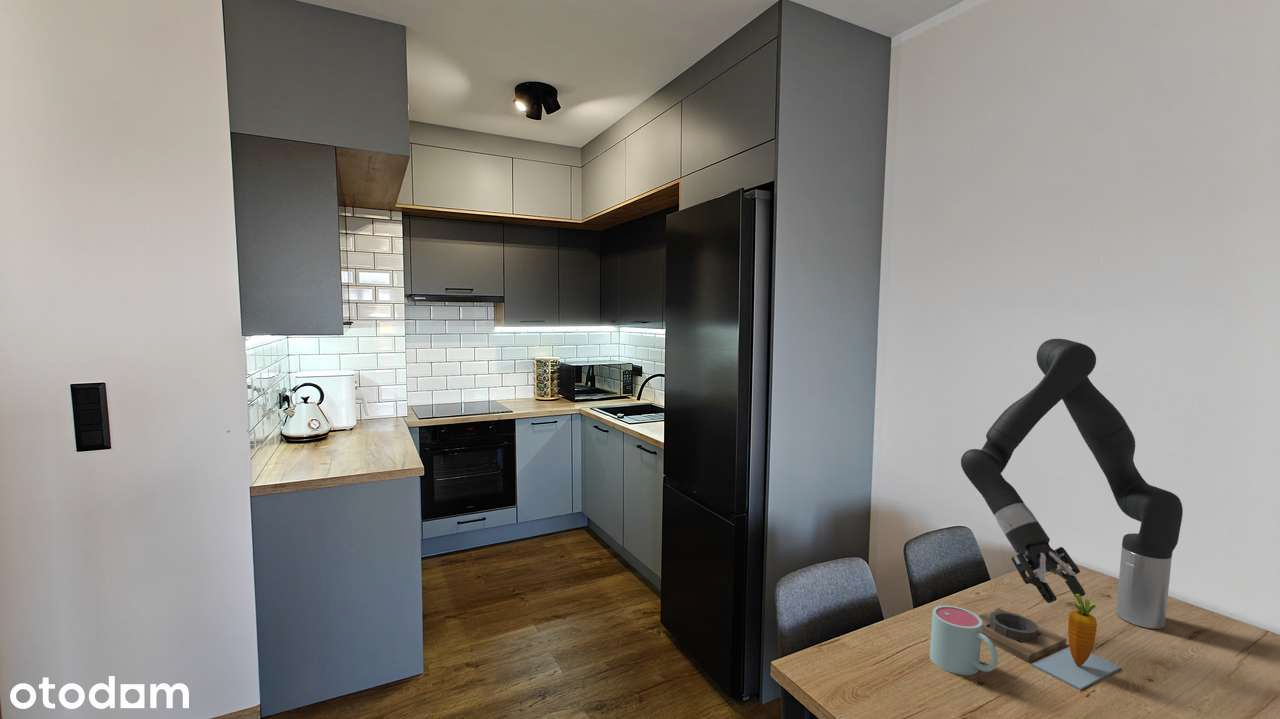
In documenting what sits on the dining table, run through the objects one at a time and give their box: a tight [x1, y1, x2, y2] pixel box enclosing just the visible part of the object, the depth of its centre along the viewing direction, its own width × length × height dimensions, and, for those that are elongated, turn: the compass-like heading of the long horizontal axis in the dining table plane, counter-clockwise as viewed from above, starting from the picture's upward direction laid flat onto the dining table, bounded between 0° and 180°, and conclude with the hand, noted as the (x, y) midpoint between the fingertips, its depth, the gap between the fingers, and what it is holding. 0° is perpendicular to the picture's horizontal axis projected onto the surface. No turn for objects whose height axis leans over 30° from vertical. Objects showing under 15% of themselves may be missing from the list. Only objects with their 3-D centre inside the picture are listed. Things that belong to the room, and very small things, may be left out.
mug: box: [929, 605, 999, 676], centre depth 121 cm, size 14×9×10 cm
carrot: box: [1067, 594, 1098, 666], centre depth 122 cm, size 5×5×15 cm
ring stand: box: [978, 608, 1067, 663], centre depth 134 cm, size 15×15×4 cm
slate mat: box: [1031, 646, 1121, 691], centre depth 123 cm, size 16×9×1 cm, turn 118°
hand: (1067, 599), depth 125 cm, fingers open, 8 cm apart
